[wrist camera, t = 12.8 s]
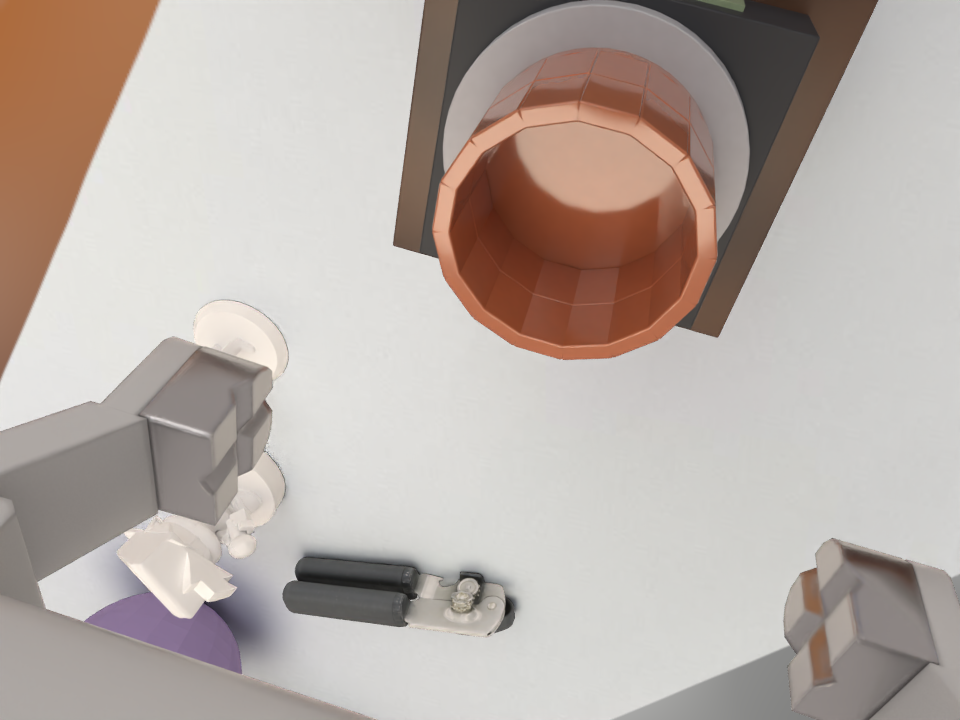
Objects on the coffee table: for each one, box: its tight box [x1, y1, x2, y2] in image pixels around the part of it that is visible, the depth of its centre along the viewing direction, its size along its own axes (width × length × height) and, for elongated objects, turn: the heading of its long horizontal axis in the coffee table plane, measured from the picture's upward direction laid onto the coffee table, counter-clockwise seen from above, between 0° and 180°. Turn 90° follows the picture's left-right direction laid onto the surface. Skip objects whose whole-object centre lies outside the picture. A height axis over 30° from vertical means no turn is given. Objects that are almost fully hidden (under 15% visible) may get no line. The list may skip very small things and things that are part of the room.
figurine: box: [193, 300, 288, 381], centre depth 49 cm, size 7×7×12 cm
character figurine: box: [117, 451, 285, 619], centre depth 58 cm, size 9×10×12 cm
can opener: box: [283, 557, 515, 638], centre depth 64 cm, size 19×6×5 cm, turn 94°
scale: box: [419, 0, 820, 329], centre depth 22 cm, size 9×9×3 cm
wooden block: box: [393, 0, 878, 337], centre depth 30 cm, size 12×12×16 cm
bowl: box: [432, 47, 718, 360], centre depth 19 cm, size 6×6×4 cm
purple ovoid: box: [84, 592, 242, 674], centre depth 68 cm, size 17×17×20 cm
